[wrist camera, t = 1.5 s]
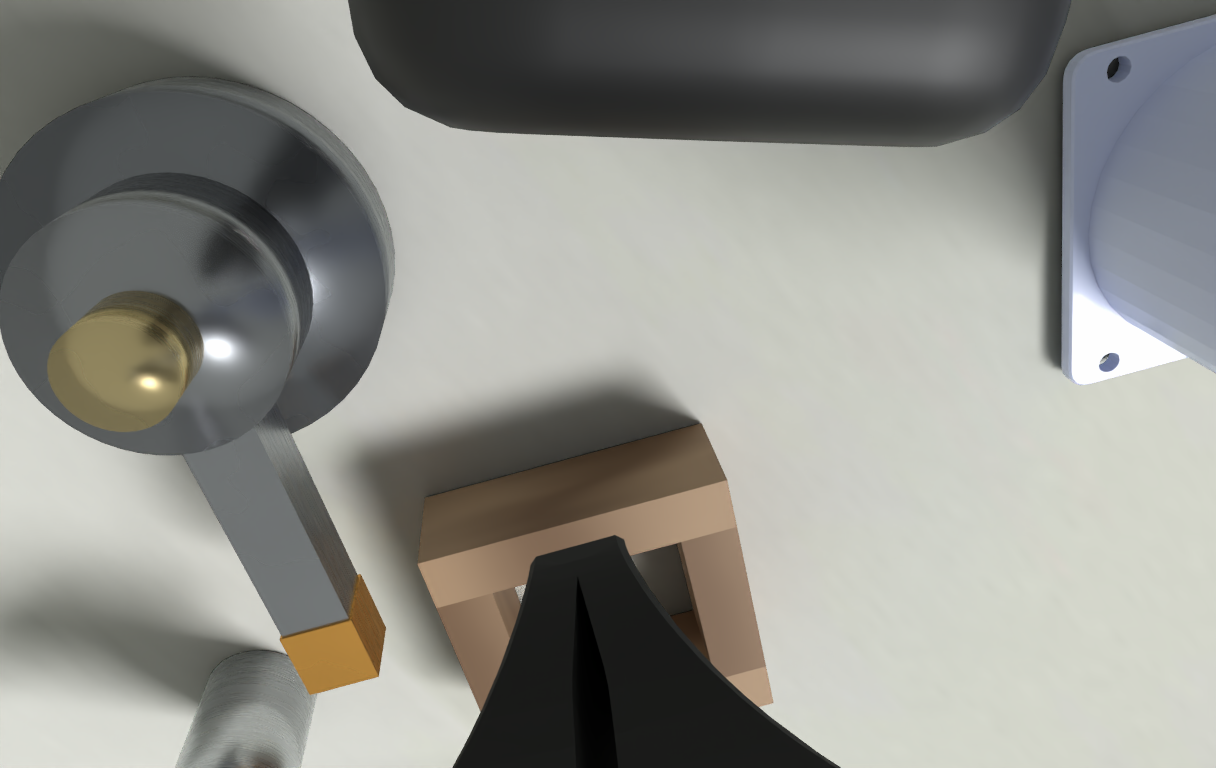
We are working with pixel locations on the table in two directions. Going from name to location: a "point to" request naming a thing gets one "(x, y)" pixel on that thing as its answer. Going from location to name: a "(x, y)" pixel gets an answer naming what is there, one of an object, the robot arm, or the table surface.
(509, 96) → the battery charger
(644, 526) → the holder
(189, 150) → the base
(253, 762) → the key
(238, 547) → the collar
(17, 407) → the table surface
